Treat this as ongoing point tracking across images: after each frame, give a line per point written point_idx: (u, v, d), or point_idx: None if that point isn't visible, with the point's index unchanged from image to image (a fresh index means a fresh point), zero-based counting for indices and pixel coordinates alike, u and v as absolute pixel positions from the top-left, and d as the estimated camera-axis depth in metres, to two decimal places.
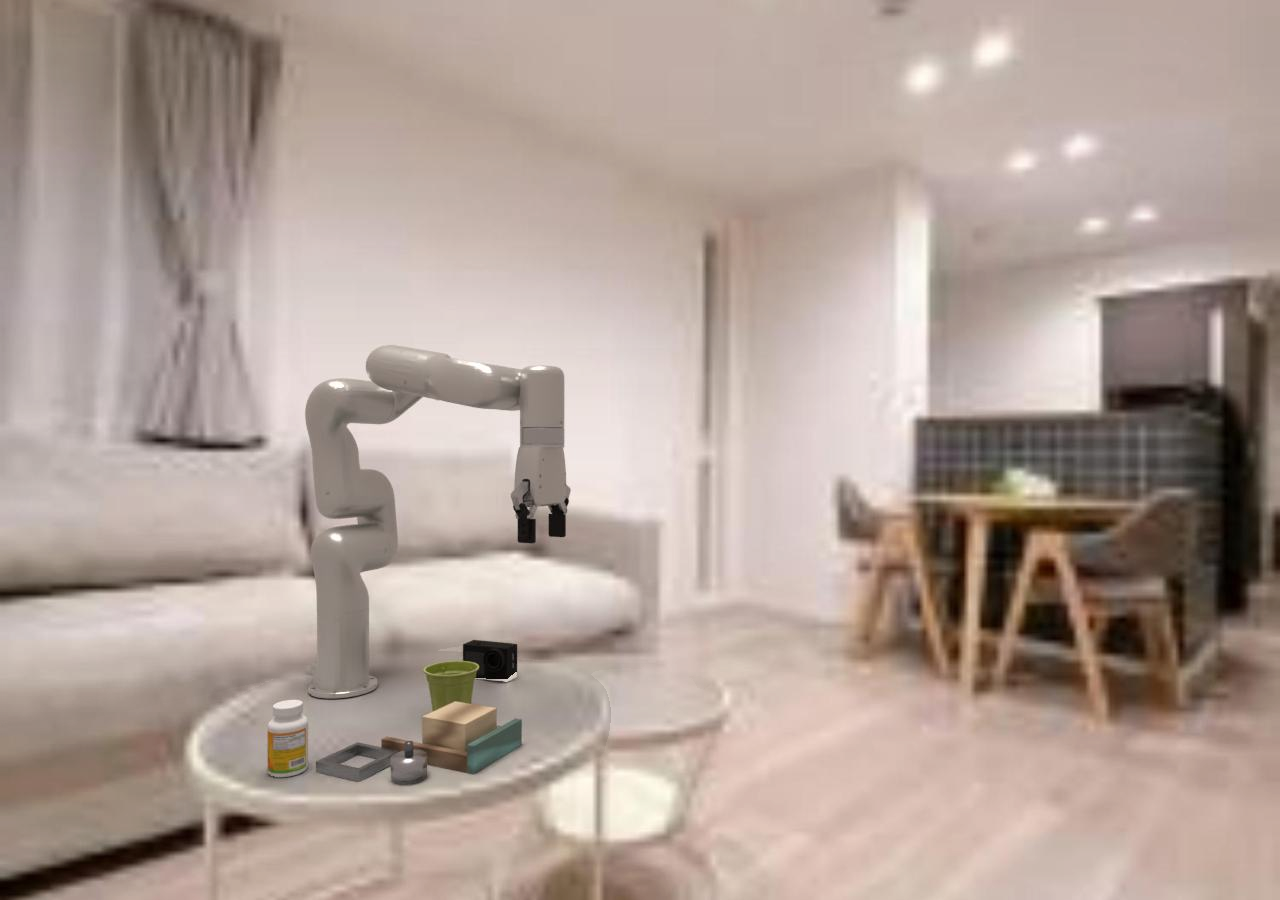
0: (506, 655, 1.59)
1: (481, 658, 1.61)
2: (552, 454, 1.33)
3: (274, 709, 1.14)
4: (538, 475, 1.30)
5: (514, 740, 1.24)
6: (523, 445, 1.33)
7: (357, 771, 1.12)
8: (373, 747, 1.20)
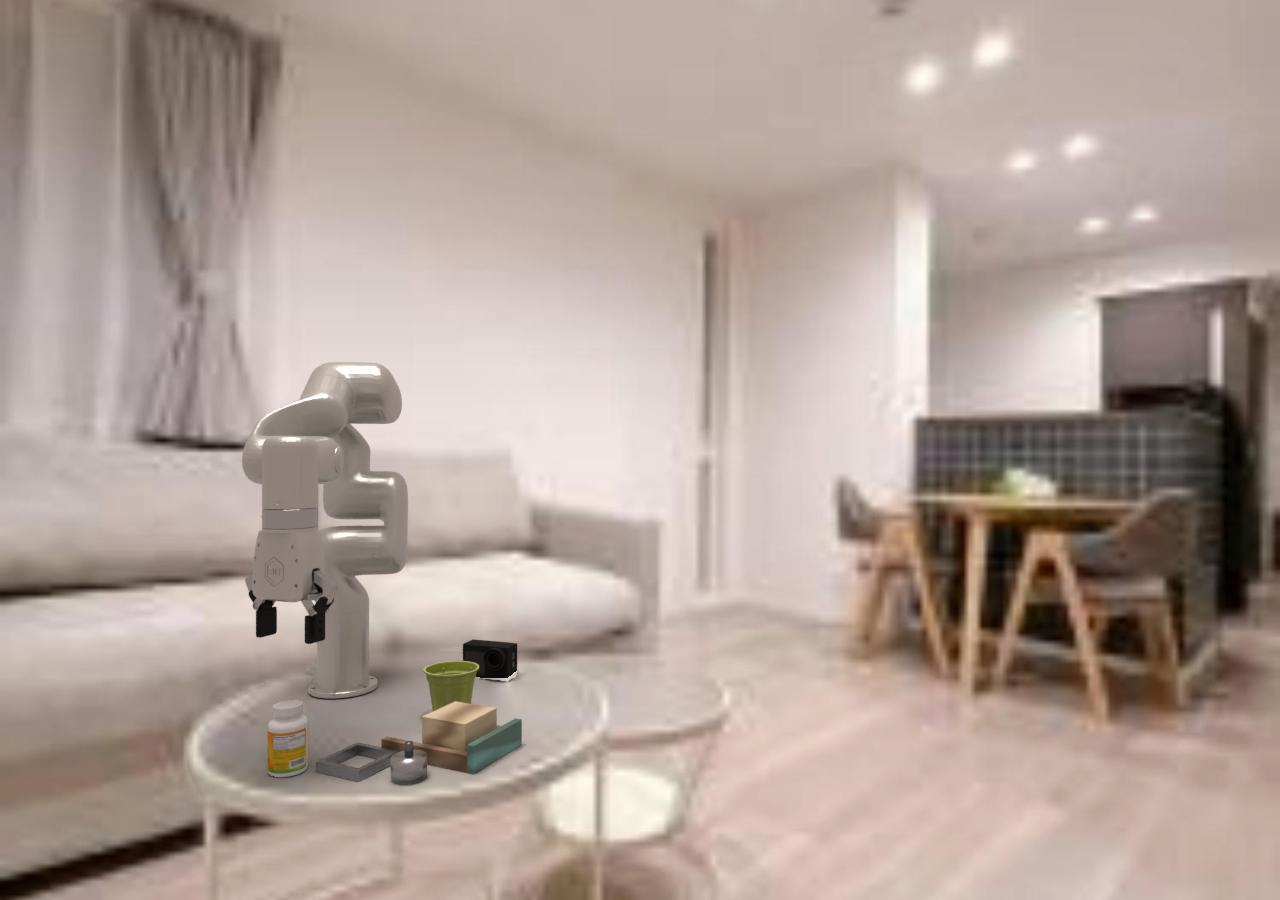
0: (507, 654, 1.59)
1: (481, 657, 1.61)
2: None
3: (274, 709, 1.14)
4: (323, 561, 1.16)
5: (514, 740, 1.24)
6: (298, 530, 1.13)
7: (357, 771, 1.12)
8: (373, 747, 1.20)
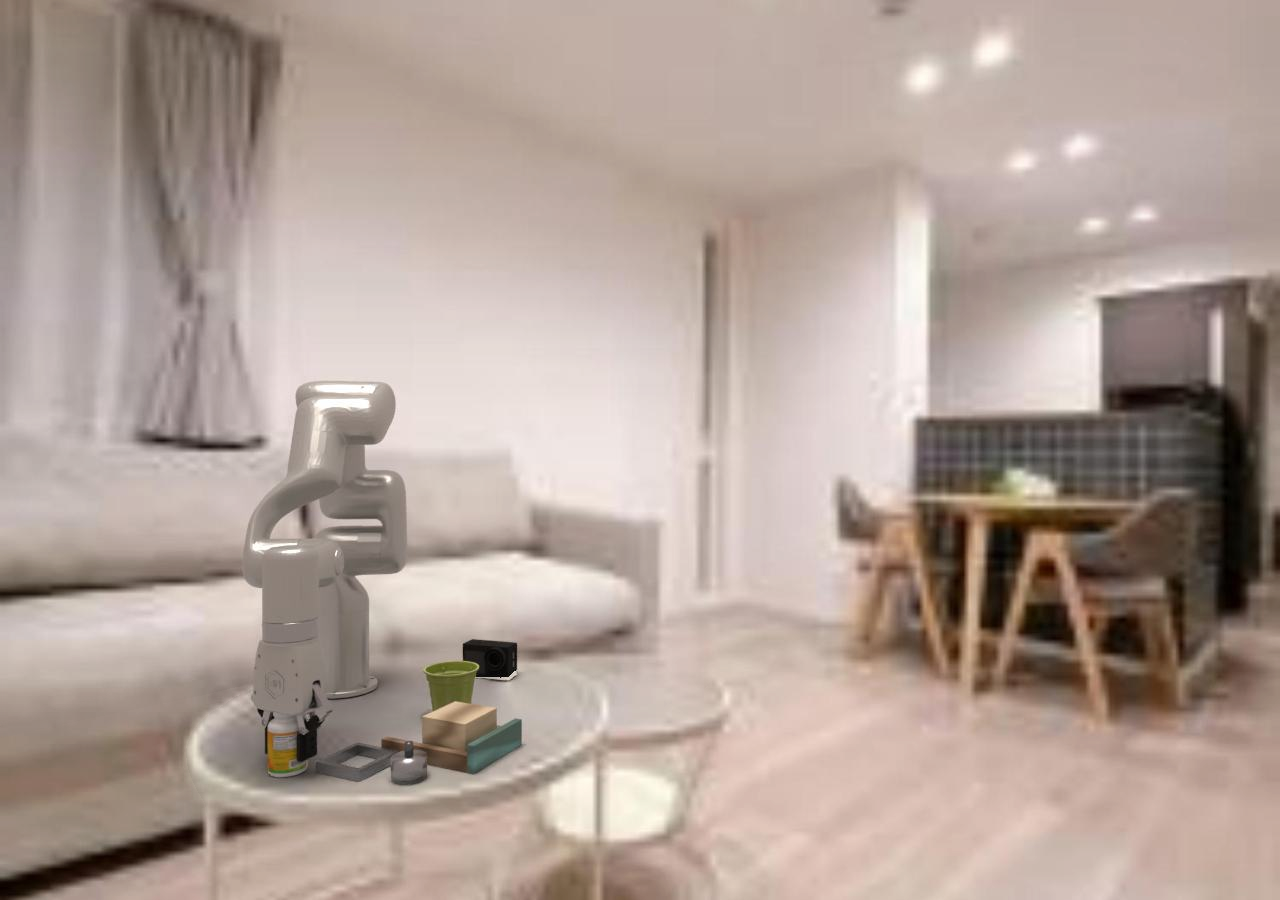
0: (507, 654, 1.60)
1: (481, 657, 1.61)
2: None
3: None
4: (323, 671, 1.16)
5: (514, 740, 1.24)
6: (299, 643, 1.13)
7: (357, 771, 1.12)
8: (373, 747, 1.20)
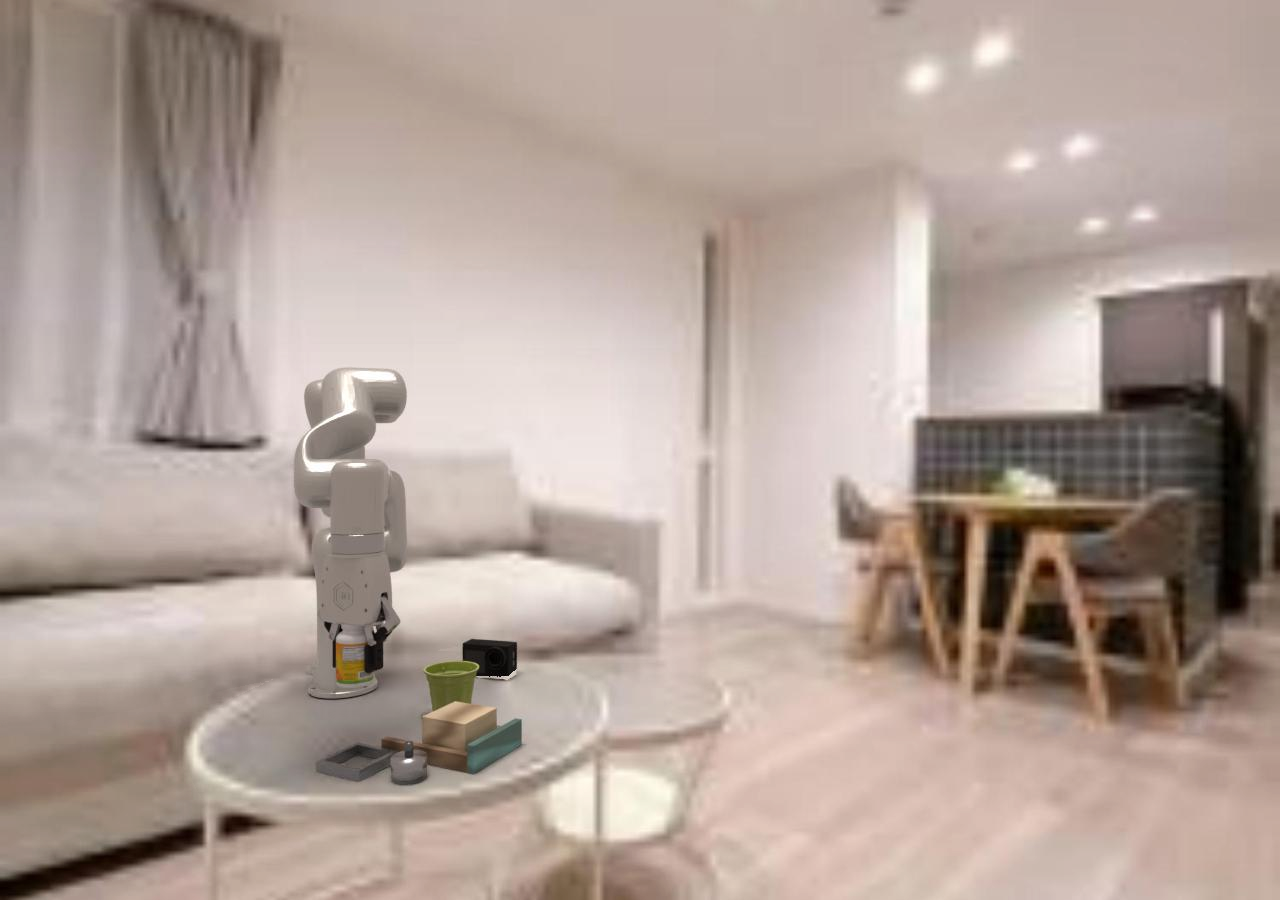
0: (508, 653, 1.60)
1: (481, 657, 1.62)
2: None
3: None
4: (390, 585, 1.17)
5: (514, 740, 1.24)
6: (367, 555, 1.14)
7: (357, 771, 1.12)
8: (373, 747, 1.20)
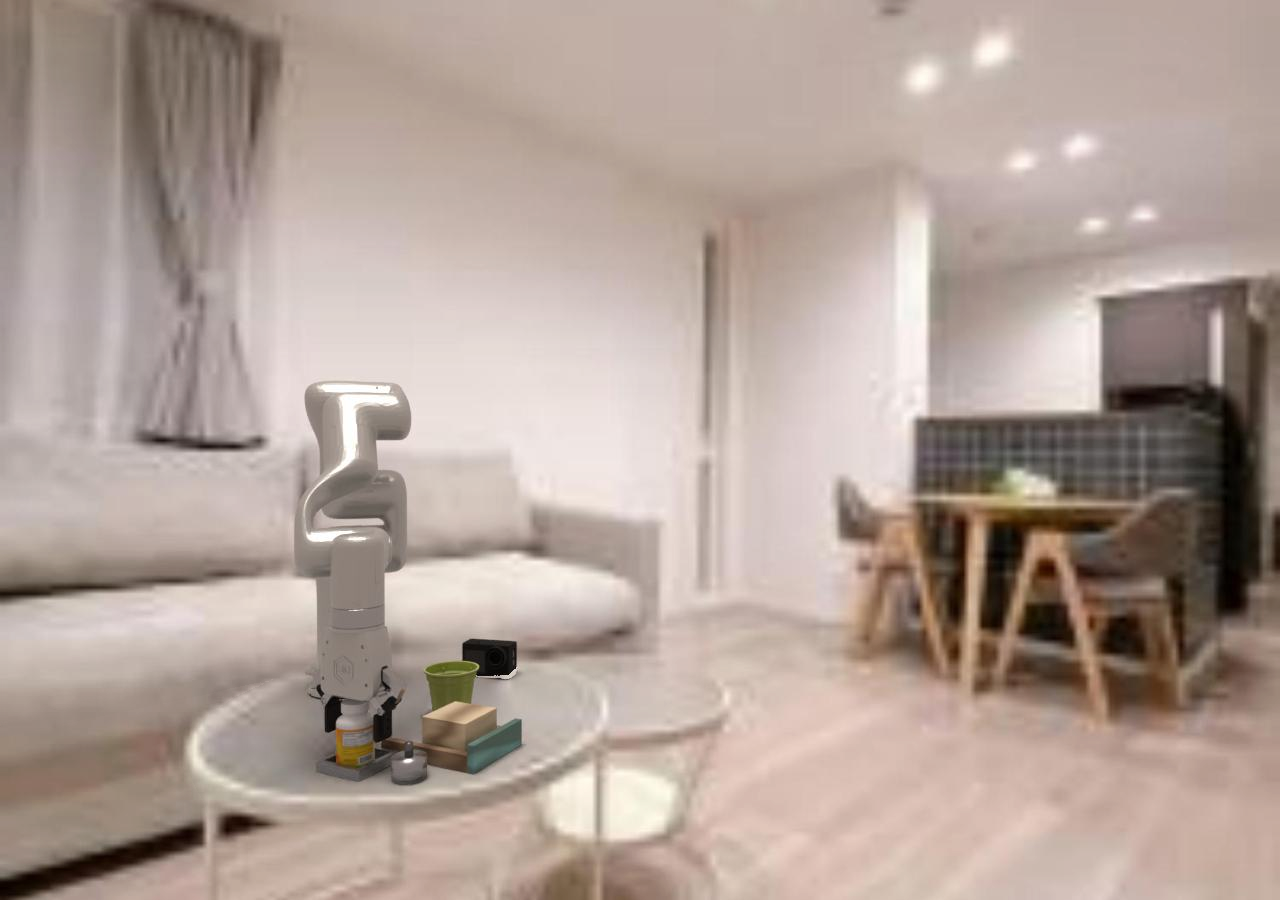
0: (508, 652, 1.61)
1: (482, 656, 1.62)
2: None
3: (342, 706, 1.15)
4: None
5: (514, 740, 1.24)
6: (368, 629, 1.14)
7: (357, 771, 1.12)
8: None
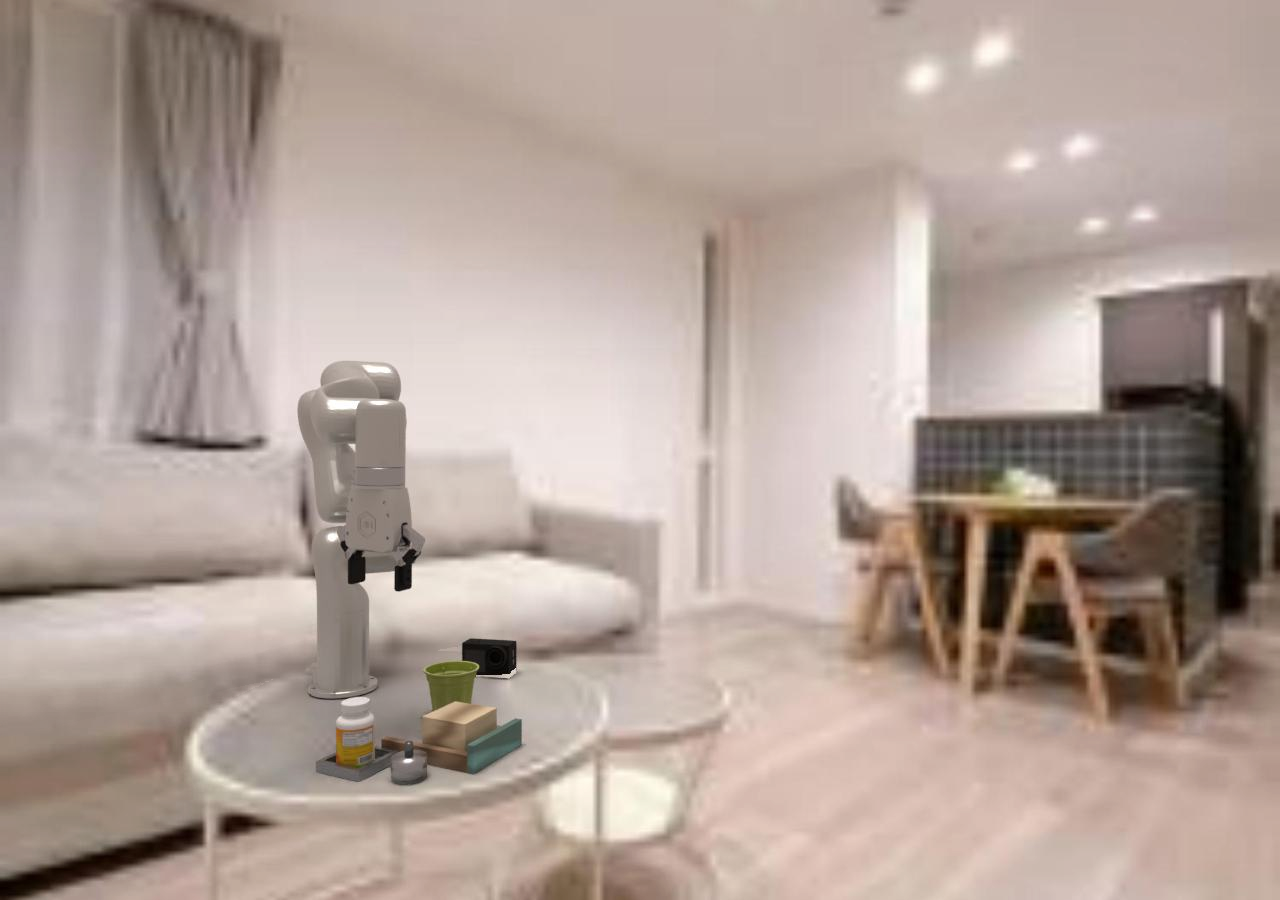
0: (508, 652, 1.61)
1: (482, 656, 1.62)
2: None
3: (342, 706, 1.15)
4: None
5: (514, 740, 1.24)
6: (389, 487, 1.22)
7: (357, 771, 1.12)
8: None
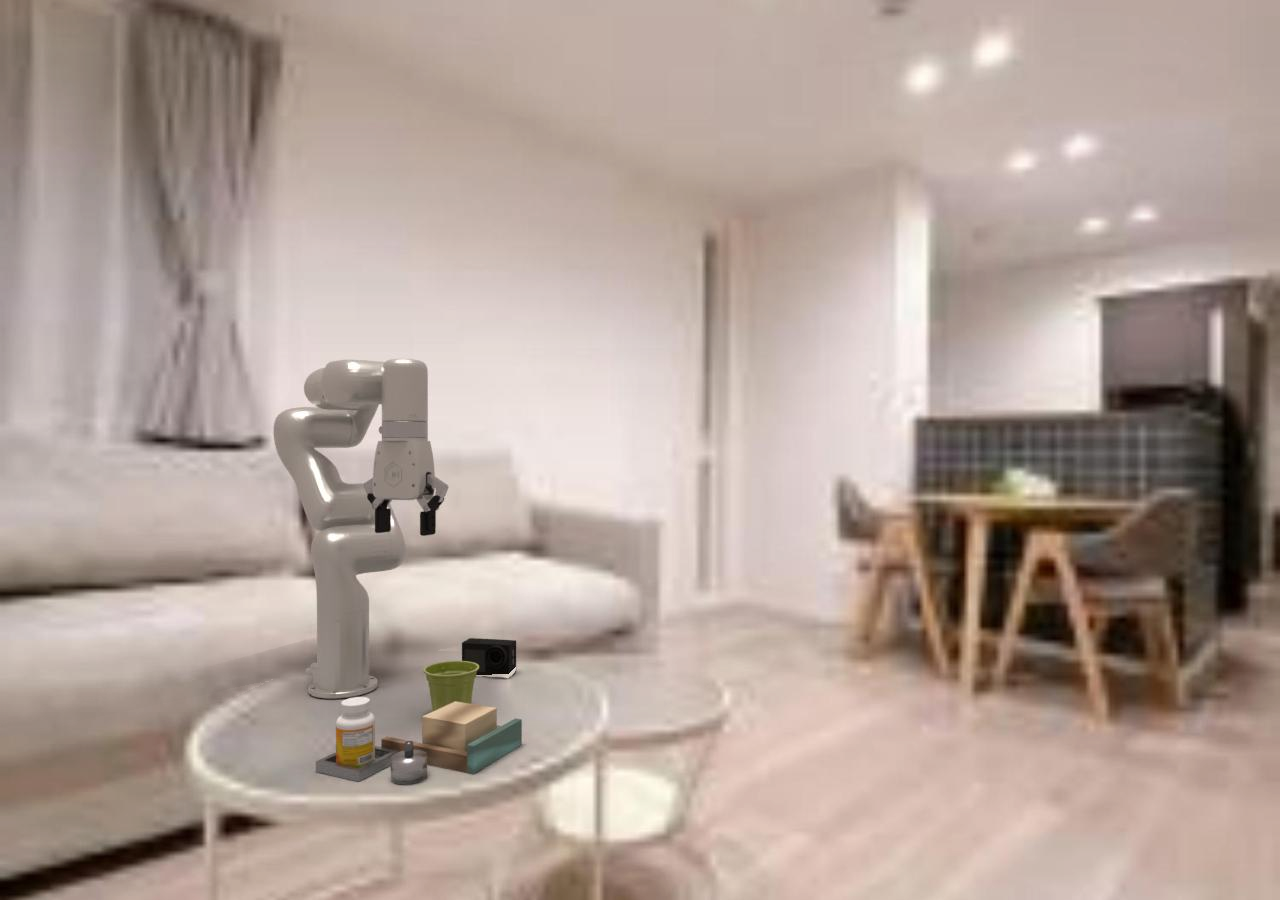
0: (508, 651, 1.62)
1: (482, 655, 1.62)
2: None
3: (342, 706, 1.15)
4: None
5: (514, 740, 1.24)
6: (414, 438, 1.32)
7: (357, 771, 1.12)
8: None
